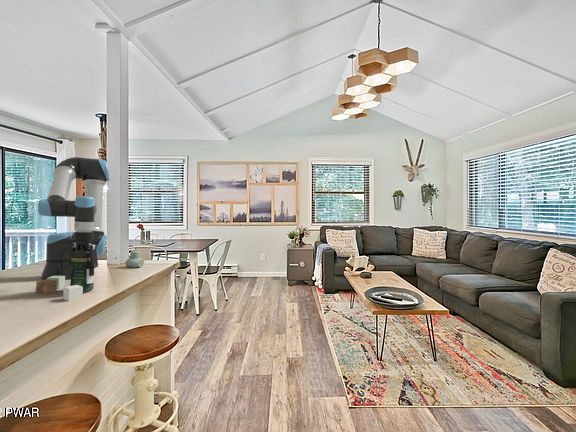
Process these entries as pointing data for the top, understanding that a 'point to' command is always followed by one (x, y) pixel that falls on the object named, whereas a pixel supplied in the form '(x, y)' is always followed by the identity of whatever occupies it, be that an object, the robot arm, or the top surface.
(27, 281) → the top surface
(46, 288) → the walnut block
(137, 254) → the air freshener
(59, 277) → the sage block
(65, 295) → the off-white block
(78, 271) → the coffee jar
